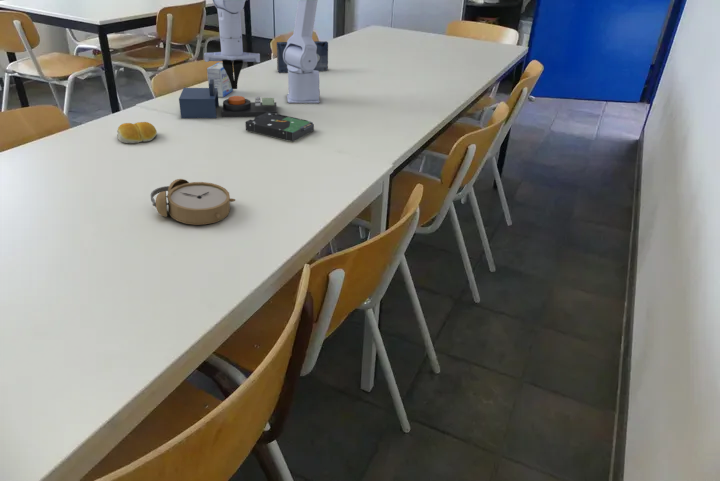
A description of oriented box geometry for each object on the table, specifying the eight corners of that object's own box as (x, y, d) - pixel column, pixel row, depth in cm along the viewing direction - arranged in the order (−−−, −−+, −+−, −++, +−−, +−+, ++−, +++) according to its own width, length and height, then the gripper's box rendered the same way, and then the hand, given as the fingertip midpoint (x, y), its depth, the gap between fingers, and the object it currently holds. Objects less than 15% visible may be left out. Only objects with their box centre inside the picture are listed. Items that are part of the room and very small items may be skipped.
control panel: (276, 107, 160) (276, 97, 159) (277, 117, 153) (276, 106, 151) (224, 107, 158) (223, 97, 157) (222, 117, 150) (221, 106, 149)
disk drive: (245, 132, 142) (293, 143, 136) (244, 121, 140) (293, 132, 135) (267, 121, 150) (314, 130, 145) (267, 111, 148) (314, 120, 143)
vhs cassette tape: (326, 69, 202) (326, 40, 197) (328, 71, 199) (328, 42, 194) (276, 70, 196) (276, 41, 191) (278, 72, 194) (277, 43, 189)
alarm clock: (216, 215, 97) (137, 191, 97) (214, 238, 99) (137, 215, 100) (240, 189, 106) (167, 167, 107) (237, 210, 109) (166, 189, 110)
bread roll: (161, 140, 134) (158, 124, 132) (122, 146, 130) (119, 130, 127) (151, 129, 140) (149, 114, 138) (114, 135, 135) (111, 119, 133)
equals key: (245, 100, 156) (245, 95, 155) (245, 105, 152) (244, 100, 151) (228, 100, 155) (228, 95, 154) (228, 105, 151) (227, 100, 151)
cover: (219, 106, 158) (216, 76, 154) (216, 118, 150) (213, 87, 145) (185, 106, 157) (182, 76, 153) (181, 118, 148) (177, 86, 144)
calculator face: (274, 97, 158) (273, 96, 158) (274, 106, 152) (274, 105, 151) (255, 97, 158) (255, 96, 157) (255, 106, 151) (255, 105, 151)
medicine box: (223, 98, 166) (220, 69, 161) (209, 96, 166) (206, 67, 162) (233, 91, 172) (231, 63, 168) (220, 89, 173) (217, 61, 168)
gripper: (201, 39, 140) (206, 92, 147) (258, 40, 142) (261, 92, 149) (203, 33, 146) (208, 84, 153) (258, 34, 148) (261, 85, 155)
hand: (234, 88), depth 151 cm, fingers closed
